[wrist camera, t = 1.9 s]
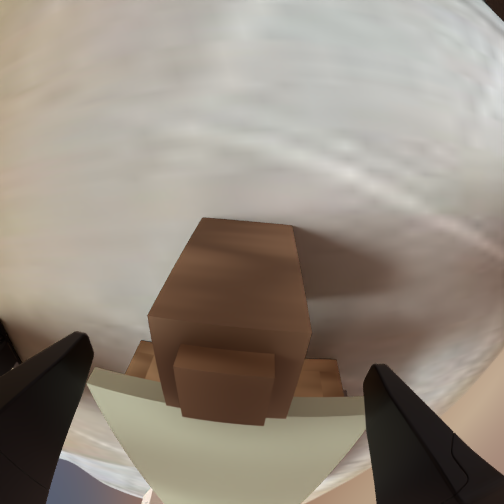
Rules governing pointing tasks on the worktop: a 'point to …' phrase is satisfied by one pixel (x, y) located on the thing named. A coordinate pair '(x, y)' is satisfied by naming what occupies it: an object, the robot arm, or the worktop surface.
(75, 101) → the worktop surface
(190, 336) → the brown stepped square block
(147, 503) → the bracket
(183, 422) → the lid
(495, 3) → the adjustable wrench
